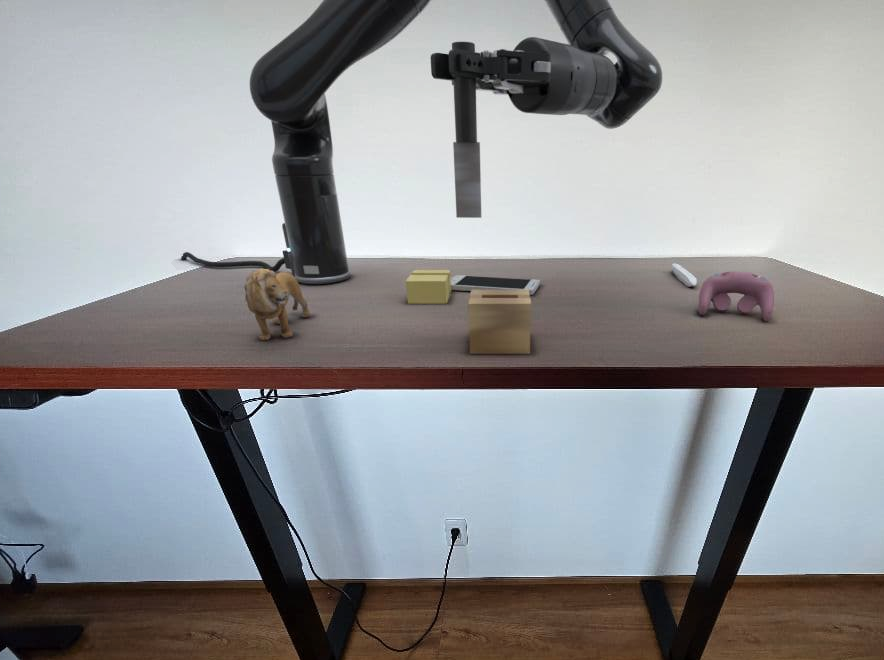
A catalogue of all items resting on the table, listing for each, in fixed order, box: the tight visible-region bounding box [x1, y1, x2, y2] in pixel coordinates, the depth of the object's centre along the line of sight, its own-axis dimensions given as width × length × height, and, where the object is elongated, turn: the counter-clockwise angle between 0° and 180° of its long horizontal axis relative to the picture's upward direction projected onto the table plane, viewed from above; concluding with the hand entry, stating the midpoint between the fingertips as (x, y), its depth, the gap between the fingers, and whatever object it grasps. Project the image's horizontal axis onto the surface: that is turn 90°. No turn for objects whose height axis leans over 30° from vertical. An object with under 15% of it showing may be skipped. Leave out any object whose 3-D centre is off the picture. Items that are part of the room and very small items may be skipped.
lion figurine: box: [243, 267, 311, 341], centre depth 61 cm, size 15×5×9 cm, turn 13°
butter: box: [405, 269, 452, 305], centre depth 76 cm, size 6×7×4 cm
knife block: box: [467, 290, 532, 355], centre depth 57 cm, size 7×6×6 cm
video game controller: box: [698, 270, 775, 322], centre depth 69 cm, size 10×5×7 cm, turn 71°
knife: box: [451, 41, 482, 219], centre depth 54 cm, size 3×2×17 cm
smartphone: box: [451, 274, 541, 296], centre depth 82 cm, size 7×16×1 cm, turn 77°
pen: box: [671, 263, 698, 288], centre depth 88 cm, size 2×14×2 cm, turn 178°
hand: (442, 63), depth 49 cm, fingers closed on knife, 2 cm apart
